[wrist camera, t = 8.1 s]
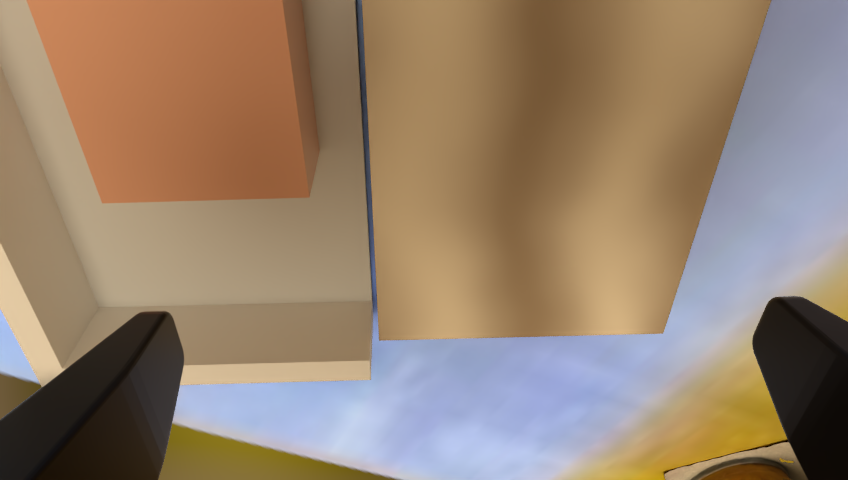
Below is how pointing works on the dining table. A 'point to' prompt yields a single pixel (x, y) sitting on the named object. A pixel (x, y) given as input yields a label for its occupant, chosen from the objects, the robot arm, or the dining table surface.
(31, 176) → the box
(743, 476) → the condiment
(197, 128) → the block
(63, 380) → the robot arm
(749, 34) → the wooden board
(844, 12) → the dining table surface
